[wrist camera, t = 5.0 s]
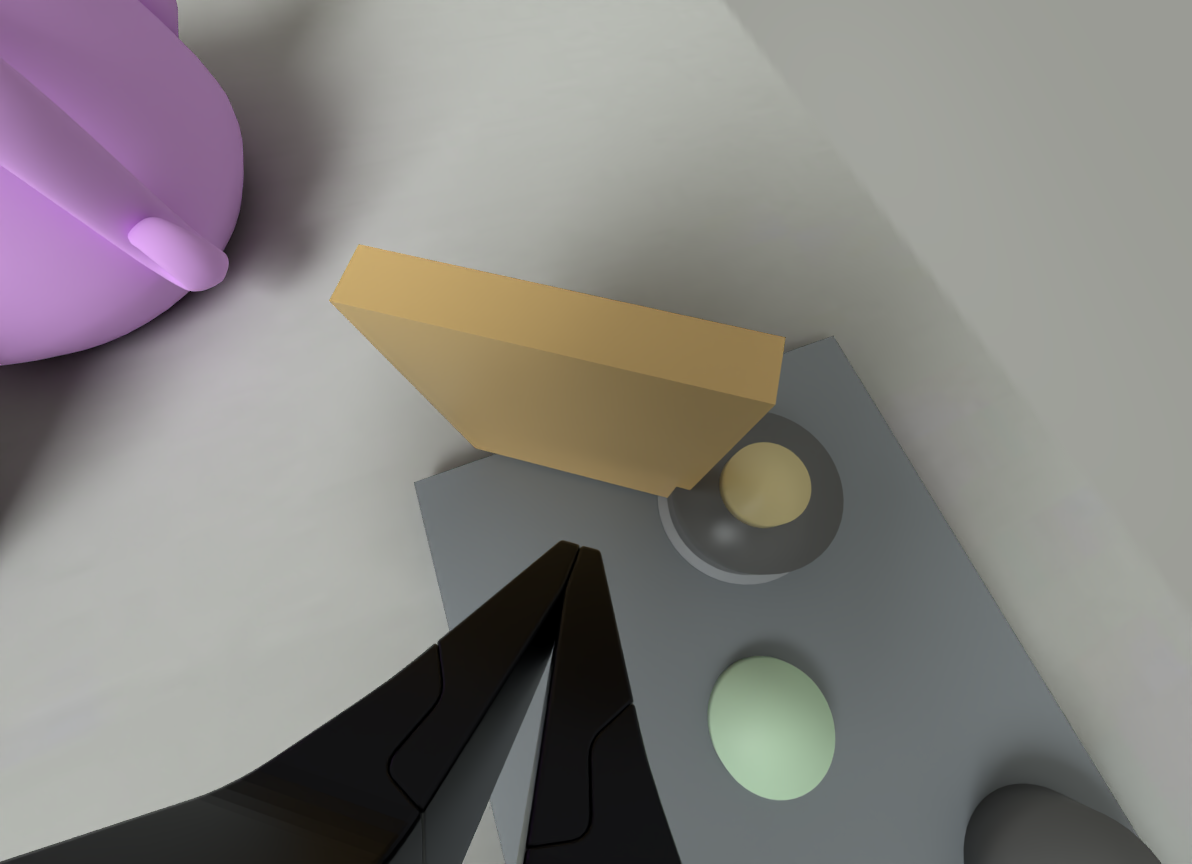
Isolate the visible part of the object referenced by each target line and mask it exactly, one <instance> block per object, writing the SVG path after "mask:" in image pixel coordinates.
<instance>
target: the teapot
mask: <svg viewBox="0 0 1192 864" xmlns="http://www.w3.org/2000/svg"><path fill="white" fill-rule="evenodd" d="M243 173H244V170H243V141H242V136H241V132H240V127H239V123H238V121H237V118H236V116H235V113H234V111H233V108H232V106H231V104H230V101H229V99H228V97H227V95H226V93H225V92H224V90H223V89H222V88H221V86H220V85H219V83H218V82H217V81H216V79H215V78H214V77H213V76H212V74H211V73H210V72H209V71H208V70H207V68H206V67H205V66H204V65H203V64H202V62H201V61H200V60H199V59H198V58H197V56H196V55H195V54H194V53H193V52H192V51H191V50H190V49H189V48H188V47H187V46H186V45H185V44H184V43H183V42H182V41H181V40H180V39H179V38H178V7H177V3H176V0H0V365H9V364H17V363H24V362H30V361H36V360H42V359H46V358H51V357H55V356H61V355H65V354H70V353H74V352H79V351H83V350H86V349H89V348H92V347H95V346H98V345H101V344H105V343H107V342H109V341H112V340H114V339H116V338H119V337H121V336H123V335H126V334H128V333H130V332H131V331H133V330H135V329H137V328H139V327H141V326H142V325H144V324H146V323H148V322H150V321H151V320H153V319H154V318H155V317H157V316H158V315H160V314H161V313H163V312H164V311H166V310H167V309H169V308H170V307H171V306H172V305H174V304H175V303H176V302H177V301H179V300H180V299H181V298H182V297H183V296H185V295H186V294H187V293H188V292H189V291H203V290H207V289H209V288H212V287H214V286H216V285H217V284H219V283H220V282H222V281H223V279H224V278H225V276H226V273H227V271H228V267H229V261H228V257H227V255H226V254H225V253H224V252H223V250H224V248H225V247H226V245H227V243H228V241H229V239H230V237H231V235H232V233H233V231H234V229H235V226H236V222H237V219H238V216H239V213H240V207H241V200H242V189H243Z"/></svg>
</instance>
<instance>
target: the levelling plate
mask: <svg viewBox="0 0 1192 864" xmlns="http://www.w3.org/2000/svg"><path fill="white" fill-rule="evenodd" d="M768 413H773V414H776V415H779V416H782V417H785V418H787V419H789V420H791V421H793V422H795V423H797V424H799V425H800V426H802V427H803V428H804V429H806V430H807V431H809V432H810V433H811V434H812V435H813V436H814V437H815V438H816V439H817V440H818V441H819V442H820V443H821V444H822V445H823V446H824V448H825V449H826V451H827V452H828V453H829V455H830V456H831V458H832V460H833V462H834V464H835V466H836V468H837V471H838V473H839V476H840V479H841V483H842V488H843V497H844V504H843V514H842V520H841V523H840V526H839V529H838V532H837V534H836V536H835V538H834V540H833V541H832V542H831V544H830V545H829V547H828V548H827V549H826V550H825V551H824V552H823V553H822V554H821V555H820V556H819V557H818V558H817V559H815V560H814V561H813V562H811V563H810V564H808V565H806V566H804V567H802V568H800V569H797V570H794V571H792V572H787V573H782V574H771V575H740V574H734V573H729V572H725V571H722V570H719V569H717V568H715V567H713V566H711V565H709V564H707V563H706V562H704V561H703V560H701V559H700V558H699V557H697V556H696V555H695V554H694V553H693V552H692V551H691V550H690V549H689V548H688V547H687V546H686V545H685V544H684V542H683V541H682V539H681V538H680V537H679V535H678V533H677V531H676V529H675V528H674V525H673V522H672V520H671V517H670V513H669V509H668V501H667V498H666V497H662V496H658V495H654V494H650V493H646V492H643V491H639V490H635V489H631V488H627V487H623V486H619V485H616V484H612V483H608V482H604V481H600V480H596V479H592V478H588V477H585V476H581V475H577V474H573V473H569V472H565V471H561V470H557V469H554V468H550V467H546V466H542V465H538V464H534V463H530V462H526V461H523V460H519V459H515V458H511V457H507V456H503V455H499V454H494V455H491V456H488V457H485V458H483V459H480V460H477V461H474V462H471V463H468V464H465V465H463V466H460V467H457V468H454V469H451V470H448V471H445V472H443V473H440V474H437V475H434V476H431V477H428V478H425V479H423V480H420V481H417V482H414V485H415V489H416V493H417V497H418V501H419V505H420V510H421V514H422V518H423V522H424V526H425V530H426V535H427V539H428V543H429V547H430V551H431V556H432V560H433V564H434V568H435V572H436V576H437V581H438V585H439V589H440V593H441V597H442V601H443V606H444V610H445V614H446V618H447V622H448V626H449V631H451V630H452V629H453V628H454V627H456V626H457V625H458V624H459V623H460V622H462V621H463V620H464V619H465V618H466V617H468V616H469V615H470V614H471V613H473V612H474V611H475V610H476V609H477V608H479V607H480V606H481V605H482V604H484V603H485V602H486V601H487V600H488V599H490V598H491V597H492V596H493V595H494V594H496V593H497V592H498V591H499V590H501V589H502V588H503V587H504V586H505V585H507V584H508V583H509V582H510V581H511V580H513V579H514V578H515V577H516V576H518V575H519V574H520V573H521V572H522V571H524V570H525V569H526V568H527V567H529V566H530V565H531V564H532V563H533V562H535V561H536V560H537V559H538V558H539V557H541V556H542V555H543V554H544V553H546V552H547V551H548V550H549V549H550V548H552V547H553V546H554V545H555V544H557V543H558V542H559V541H561V540H565V541H569V542H572V543H576V544H578V545H579V546H580V548H581V547H582V546H587V547H591V548H594V549H598V550H599V551H600V552H601V555H602V559H603V564H604V568H605V573H606V577H607V582H608V586H609V591H610V595H611V600H612V604H613V609H614V613H615V618H616V623H617V627H618V632H619V636H620V641H621V645H622V650H623V654H624V659H625V663H626V668H627V672H628V677H629V681H630V686H631V691H632V695H633V700H634V702H633V704H634V705H635V708H636V712H637V717H638V721H639V726H640V730H641V734H642V738H643V742H644V746H645V750H646V754H647V758H648V762H649V765H650V768H651V771H652V775H653V778H654V781H655V784H656V787H657V791H658V794H659V797H660V800H661V803H662V806H663V809H664V812H665V815H666V818H667V821H668V824H669V827H670V830H671V833H672V836H673V838H674V841H675V844H676V847H677V850H678V853H679V856H680V859H681V862H682V864H1161V862H1160V861H1159V860H1158V859H1157V857H1156V856H1155V855H1154V854H1153V852H1152V851H1151V850H1150V849H1149V848H1148V847H1147V846H1146V845H1145V844H1144V843H1143V842H1142V841H1141V840H1140V839H1139V837H1138V835H1137V834H1136V832H1135V830H1134V829H1133V827H1132V826H1131V824H1130V822H1129V821H1128V819H1127V817H1126V816H1125V814H1124V812H1123V811H1122V809H1121V807H1120V806H1119V804H1118V803H1117V801H1116V799H1115V798H1114V796H1113V794H1112V793H1111V791H1110V789H1109V788H1108V786H1107V784H1106V783H1105V781H1104V780H1103V778H1102V776H1101V775H1100V773H1099V771H1098V770H1097V768H1096V766H1095V765H1094V763H1093V761H1092V760H1091V758H1090V757H1089V755H1088V753H1087V752H1086V750H1085V748H1084V747H1083V745H1082V743H1081V742H1080V740H1079V738H1078V737H1077V735H1076V734H1075V732H1074V730H1073V729H1072V727H1071V725H1070V724H1069V722H1068V720H1067V719H1066V717H1065V715H1064V714H1063V712H1062V711H1061V709H1060V707H1059V706H1058V704H1057V702H1056V701H1055V699H1054V697H1053V696H1052V694H1051V692H1050V691H1049V689H1048V688H1047V686H1046V684H1045V683H1044V681H1043V679H1042V678H1041V676H1040V674H1039V673H1038V671H1037V670H1036V668H1035V666H1034V665H1033V663H1032V661H1031V660H1030V658H1029V656H1028V655H1027V653H1026V651H1025V650H1024V648H1023V647H1022V645H1021V643H1020V642H1019V640H1018V638H1017V637H1016V635H1015V633H1014V632H1013V630H1012V628H1011V627H1010V625H1009V624H1008V622H1007V620H1006V619H1005V617H1004V615H1003V614H1002V612H1001V610H1000V609H999V607H998V605H997V604H996V602H995V601H994V599H993V597H992V596H991V594H990V592H989V591H988V589H987V587H986V586H985V584H984V582H983V581H982V579H981V578H980V576H979V574H978V573H977V571H976V569H975V568H974V566H973V564H972V563H971V561H970V559H969V558H968V556H967V555H966V553H965V551H964V550H963V548H962V546H961V545H960V543H959V541H958V540H957V538H956V536H955V535H954V533H953V532H952V530H951V528H950V527H949V525H948V523H947V522H946V520H945V518H944V517H943V515H942V513H941V512H940V510H939V509H938V507H937V505H936V504H935V502H934V500H933V499H932V497H931V495H930V494H929V492H928V490H927V489H926V487H925V486H924V484H923V482H922V481H921V479H920V477H919V476H918V474H917V472H916V471H915V469H914V467H913V466H912V464H911V463H910V461H909V459H908V458H907V456H906V454H905V453H904V451H903V449H902V448H901V446H900V444H899V443H898V441H897V440H896V438H895V436H894V435H893V433H892V431H891V430H890V428H889V426H888V425H887V423H886V422H885V420H884V418H883V417H882V415H881V413H880V412H879V410H878V408H877V407H876V405H875V403H874V402H873V400H872V399H871V397H870V395H869V394H868V392H867V390H866V389H865V387H864V385H863V384H862V382H861V380H860V379H859V377H858V376H857V374H856V372H855V371H854V369H853V367H852V366H851V364H850V362H849V361H848V359H847V357H846V356H845V354H844V353H843V351H842V349H841V348H840V346H839V344H838V343H837V341H836V339H835V338H834V336H831V337H828V338H826V339H823V340H820V341H817V342H814V343H811V344H808V345H806V346H803V347H800V348H797V349H794V350H791V351H788V352H786V353H783V358H782V364H781V371H780V378H779V384H778V391H777V397H776V404H775V406H774V407H773V408H772V409H771V410H770V411H769V412H768ZM552 652H553V650H552ZM551 657H552V653H551V656H550V659H549V661H548V664H547V666H546V669H545V671H544V673H543V676H542V678H541V680H540V683H539V685H538V687H537V689H536V692H535V694H534V696H533V699H532V701H531V703H530V706H529V708H528V710H527V713H526V715H525V717H524V720H523V722H522V724H521V727H520V729H519V731H518V734H517V736H516V738H515V741H514V743H513V745H512V748H511V750H510V752H509V755H508V757H507V759H506V762H505V764H504V766H503V769H502V771H501V773H500V776H499V778H498V780H497V783H496V785H495V787H494V790H493V792H492V794H491V797H490V802H491V806H492V810H493V814H494V818H495V823H496V827H497V831H498V835H499V839H500V843H501V848H502V852H503V856H504V860H505V864H516V861H517V855H518V849H519V844H520V838H521V832H522V826H523V820H524V814H525V808H526V802H527V797H528V791H529V785H530V779H531V773H532V767H533V761H534V756H535V750H536V744H537V738H538V732H539V726H540V720H541V715H542V709H543V703H544V697H545V691H546V685H547V679H548V674H549V668H550V663H551Z"/></svg>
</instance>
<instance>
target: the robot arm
mask: <svg viewBox="0 0 1192 864" xmlns="http://www.w3.org/2000/svg"><path fill="white" fill-rule="evenodd" d="M552 650H553V652H552ZM551 653H552V657H551V663H550V668H549V674H548V679H547V685H546V691H545V697H544V703H543V709H542V715H541V720H540V726H539V732H538V738H537V744H536V750H535V756H534V761H533V767H532V773H531V779H530V785H529V791H528V797H527V802H526V808H525V814H524V820H523V826H522V832H521V838H520V844H519V849H518V855H517V861H516V864H682V862H681V859H680V856H679V853H678V850H677V847H676V844H675V841H674V838H673V836H672V833H671V830H670V827H669V824H668V821H667V818H666V815H665V812H664V809H663V806H662V803H661V800H660V797H659V794H658V791H657V787H656V784H655V781H654V778H653V775H652V771H651V768H650V765H649V762H648V758H647V754H646V750H645V746H644V742H643V738H642V734H641V730H640V726H639V721H638V717H637V712H636V708H635V705H634V704H633V702H634V700H633V695H632V691H631V686H630V681H629V677H628V672H627V668H626V663H625V659H624V654H623V650H622V645H621V641H620V636H619V632H618V627H617V623H616V618H615V613H614V609H613V604H612V600H611V595H610V591H609V586H608V582H607V577H606V573H605V568H604V564H603V559H602V555H601V552H600V551H599V550H598V549H594V548H591V547H587V546H582V547H581V548H580V546H579V545H578V544H576V543H572V542H569V541H565V540H561V541H559V542H558V543H557V544H555V545H554V546H553V547H552V548H550V549H549V550H548V551H547V552H546V553H544V554H543V555H542V556H541V557H539V558H538V559H537V560H536V561H535V562H533V563H532V564H531V565H530V566H529V567H527V568H526V569H525V570H524V571H522V572H521V573H520V574H519V575H518V576H516V577H515V578H514V579H513V580H511V581H510V582H509V583H508V584H507V585H505V586H504V587H503V588H502V589H501V590H499V591H498V592H497V593H496V594H494V595H493V596H492V597H491V598H490V599H488V600H487V601H486V602H485V603H484V604H482V605H481V606H480V607H479V608H477V609H476V610H475V611H474V612H473V613H471V614H470V615H469V616H468V617H466V618H465V619H464V620H463V621H462V622H460V623H459V624H458V625H457V626H456V627H454V628H453V629H452V630H451V631H449V632H448V633H447V634H446V635H445V636H443V637H442V638H441V639H440V640H439V641H438V642H437V644H433V645H432V646H431V647H430V648H428V649H427V650H426V651H425V652H424V653H422V654H421V655H420V656H419V657H418V658H416V659H415V660H414V661H413V662H411V663H410V664H409V665H407V666H406V667H405V668H404V669H402V670H401V671H400V672H398V673H397V674H396V675H395V676H393V677H392V678H391V679H389V680H388V681H387V682H385V683H384V684H382V685H381V686H379V687H378V688H377V689H375V690H374V691H372V692H371V693H369V694H368V695H366V696H365V697H364V698H362V699H361V700H359V701H358V702H356V703H355V704H353V705H352V706H350V707H349V708H347V709H346V710H344V711H343V712H341V713H340V714H338V715H337V716H335V717H334V718H333V719H331V720H330V721H328V722H327V723H325V724H324V725H322V726H321V727H319V728H318V729H316V730H315V731H313V732H312V733H310V734H309V735H307V736H306V737H304V738H303V739H301V740H300V741H298V742H297V743H295V744H294V745H292V746H291V747H289V748H288V749H286V750H285V751H283V752H282V753H280V754H279V755H277V756H276V757H274V758H273V759H271V760H270V761H268V762H267V763H265V764H263V765H262V766H260V767H259V768H257V769H255V770H254V771H252V772H250V773H248V774H247V775H245V776H243V777H241V778H240V779H238V780H235V781H233V782H231V783H229V784H227V785H225V786H223V787H221V788H219V789H217V790H214V791H212V792H210V793H207V794H205V795H202V796H199V797H196V798H194V799H191V800H188V801H184V802H181V803H178V804H175V805H172V806H169V807H166V808H163V809H160V810H157V811H154V812H151V813H148V814H145V815H142V816H139V817H136V818H133V819H129V820H126V821H123V822H120V823H117V824H114V825H111V826H108V827H105V828H102V829H99V830H96V831H93V832H90V833H87V834H84V835H81V836H78V837H74V838H71V839H68V840H65V841H62V842H59V843H56V844H53V845H50V846H47V847H44V848H41V849H38V850H35V851H32V852H29V853H26V854H23V855H19V856H16V857H13V858H10V859H7V860H4V861H1V862H0V864H462V862H463V860H464V857H465V855H466V853H467V850H468V848H469V846H470V843H471V841H472V839H473V836H474V834H475V832H476V829H477V827H478V825H479V822H480V820H481V818H482V815H483V813H484V811H485V808H486V806H487V804H488V801H489V799H490V797H491V794H492V792H493V790H494V787H495V785H496V783H497V780H498V778H499V776H500V773H501V771H502V769H503V766H504V764H505V762H506V759H507V757H508V755H509V752H510V750H511V748H512V745H513V743H514V741H515V738H516V736H517V734H518V731H519V729H520V727H521V724H522V722H523V720H524V717H525V715H526V713H527V710H528V708H529V706H530V703H531V701H532V699H533V696H534V694H535V692H536V689H537V687H538V685H539V683H540V680H541V678H542V676H543V673H544V671H545V669H546V666H547V664H548V661H549V659H550V656H551Z"/></svg>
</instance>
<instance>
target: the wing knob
mask: <svg viewBox="0 0 1192 864" xmlns="http://www.w3.org/2000/svg"><path fill="white" fill-rule="evenodd" d="M329 301H330V302H331V303H332V304H333V305H334V306H335V307H336V308H337V309H338V310H339V311H340V312H341V313H342V314H343V315H344V316H345V317H346V318H347V319H348V320H349V321H350V322H351V323H352V324H353V325H354V326H355V327H356V328H357V329H358V330H359V331H360V332H361V333H362V334H363V335H364V336H365V337H366V338H367V339H368V340H369V342H370V343H371V344H372V345H373V346H374V347H375V348H376V349H377V350H378V351H379V352H380V353H381V354H382V355H383V356H384V357H385V358H386V359H387V360H388V361H389V362H390V363H391V364H392V365H393V366H394V367H395V368H396V369H397V370H398V371H399V372H400V373H401V374H402V375H403V376H404V377H405V378H406V379H407V380H408V381H409V382H410V383H411V384H412V385H413V386H414V387H415V388H416V389H417V390H418V391H419V392H420V393H421V394H422V395H423V396H424V397H425V398H426V399H427V400H428V401H429V402H430V403H431V404H432V405H433V406H434V407H435V408H436V409H437V410H438V411H439V412H440V413H441V414H442V415H443V416H444V417H445V418H446V419H447V420H448V421H449V422H450V423H451V424H452V425H453V426H454V427H455V428H456V429H457V430H458V431H459V432H460V433H461V434H462V435H463V436H464V437H465V438H466V439H467V440H468V441H469V442H470V443H471V444H472V445H473V446H474V447H475V448H476V449H480V450H484V451H488V452H492V453H496V454H499V455H503V456H507V457H511V458H515V459H519V460H523V461H526V462H530V463H534V464H538V465H542V466H546V467H550V468H554V469H557V470H561V471H565V472H569V473H573V474H577V475H581V476H585V477H588V478H592V479H596V480H600V481H604V482H608V483H612V484H616V485H619V486H623V487H627V488H631V489H635V490H639V491H643V492H646V493H650V494H654V495H658V496H662V497H666V498H667V501H668V509H669V513H670V517H671V520H672V522H673V525H674V528H675V529H676V531H677V533H678V535H679V537H680V538H681V539H682V541H683V542H684V544H685V545H686V546H687V547H688V548H689V549H690V550H691V551H692V552H693V553H694V554H695V555H696V556H697V557H699V558H700V559H701V560H703V561H704V562H706V563H707V564H709V565H711V566H713V567H715V568H717V569H719V570H722V571H725V572H729V573H734V574H740V575H771V574H782V573H787V572H792V571H794V570H797V569H800V568H802V567H804V566H806V565H808V564H810V563H811V562H813V561H814V560H815V559H817V558H818V557H819V556H820V555H821V554H822V553H823V552H824V551H825V550H826V549H827V548H828V547H829V545H830V544H831V542H832V541H833V540H834V538H835V536H836V534H837V532H838V529H839V526H840V523H841V520H842V514H843V504H844V497H843V488H842V483H841V479H840V476H839V473H838V471H837V468H836V466H835V464H834V462H833V460H832V458H831V456H830V455H829V453H828V452H827V451H826V449H825V448H824V446H823V445H822V444H821V443H820V442H819V441H818V440H817V439H816V438H815V437H814V436H813V435H812V434H811V433H810V432H809V431H807V430H806V429H804V428H803V427H802V426H800V425H799V424H797V423H795V422H793V421H791V420H789V419H787V418H785V417H782V416H779V415H776V414H773V413H768V412H769V411H770V410H771V409H772V408H773V407H774V406H775V404H776V397H777V391H778V384H779V378H780V371H781V364H782V358H783V351H784V345H785V338H786V337H781V336H777V335H772V334H768V333H763V332H759V331H754V330H749V329H745V328H740V327H736V326H731V325H726V324H722V323H717V322H713V321H708V320H703V319H699V318H694V317H690V316H685V315H681V314H676V313H671V312H667V311H662V310H658V309H653V308H648V307H644V306H639V305H635V304H630V303H626V302H621V301H616V300H612V299H607V298H603V297H598V296H593V295H589V294H584V293H580V292H575V291H570V290H566V289H561V288H557V287H552V286H548V285H543V284H538V283H534V282H529V281H525V280H520V279H515V278H511V277H506V276H502V275H497V274H492V273H488V272H483V271H479V270H474V269H470V268H465V267H460V266H456V265H451V264H447V263H442V262H437V261H433V260H428V259H424V258H419V257H414V256H410V255H405V254H401V253H396V252H392V251H387V250H382V249H378V248H373V247H369V246H364V245H358V247H357V249H356V250H355V252H354V254H353V256H352V258H351V260H350V262H349V264H348V266H347V268H346V270H345V271H344V273H343V275H342V277H341V279H340V281H339V283H338V285H337V287H336V289H335V291H334V292H333V294H332V296H331V298H330V300H329Z"/></svg>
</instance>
